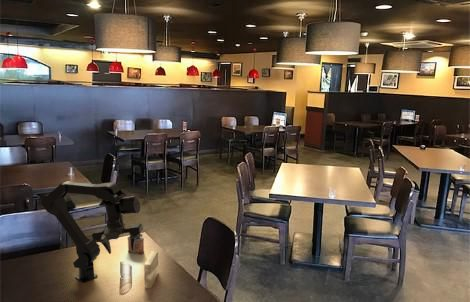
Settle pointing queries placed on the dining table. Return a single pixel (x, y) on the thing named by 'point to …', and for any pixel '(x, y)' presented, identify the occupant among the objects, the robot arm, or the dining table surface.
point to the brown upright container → (136, 245)
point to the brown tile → (151, 269)
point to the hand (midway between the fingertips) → (121, 252)
